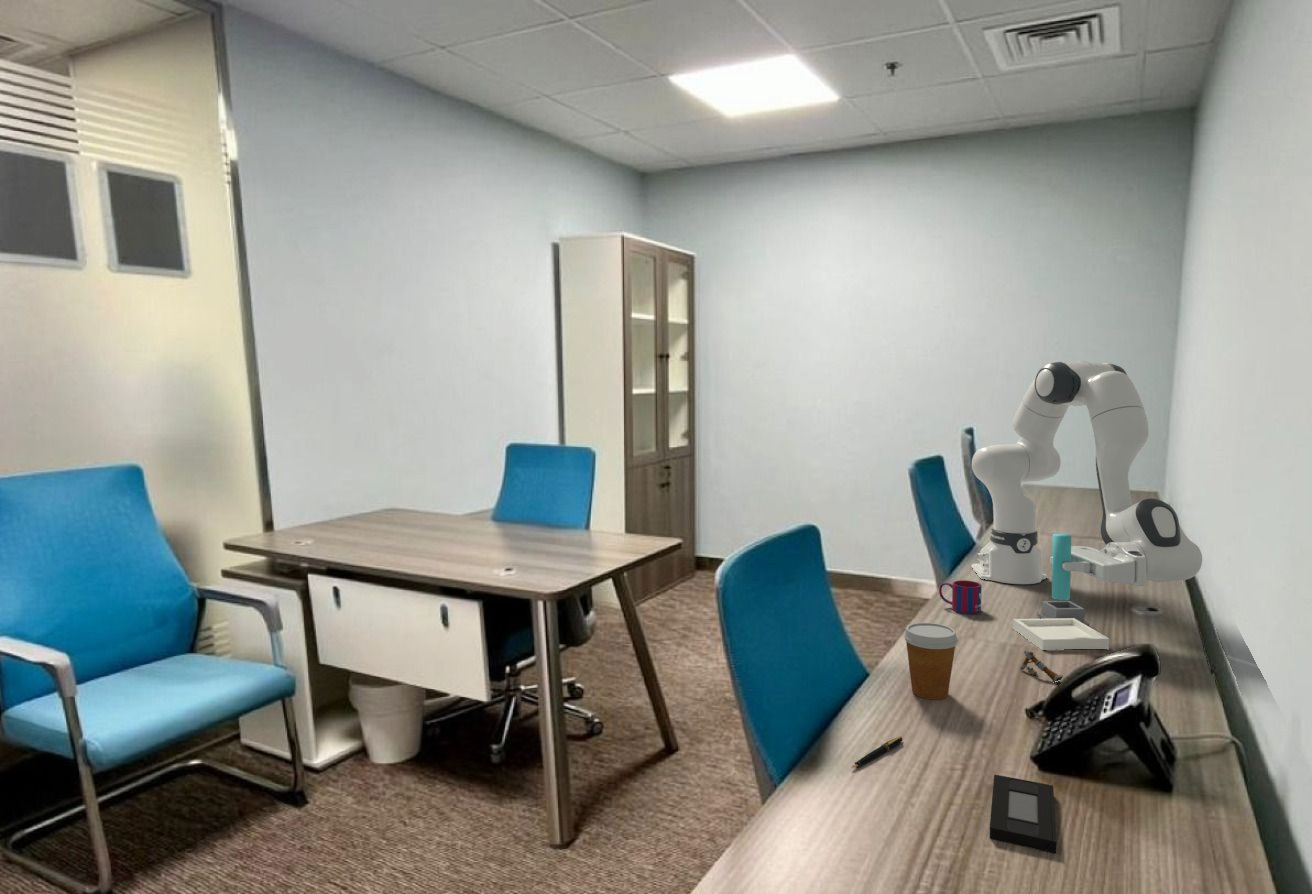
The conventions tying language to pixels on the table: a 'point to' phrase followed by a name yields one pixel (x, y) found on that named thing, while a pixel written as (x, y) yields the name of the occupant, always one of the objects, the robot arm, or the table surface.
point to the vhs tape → (1023, 813)
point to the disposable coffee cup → (930, 658)
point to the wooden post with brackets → (1040, 665)
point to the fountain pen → (878, 752)
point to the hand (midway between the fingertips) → (1057, 563)
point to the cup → (964, 596)
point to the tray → (1060, 634)
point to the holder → (1062, 610)
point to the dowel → (1060, 575)
